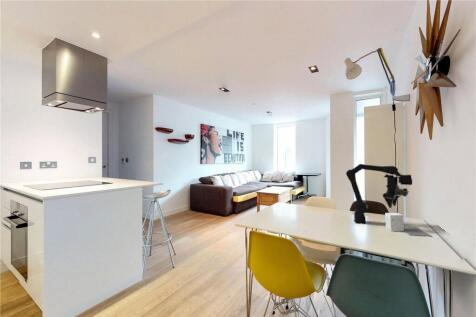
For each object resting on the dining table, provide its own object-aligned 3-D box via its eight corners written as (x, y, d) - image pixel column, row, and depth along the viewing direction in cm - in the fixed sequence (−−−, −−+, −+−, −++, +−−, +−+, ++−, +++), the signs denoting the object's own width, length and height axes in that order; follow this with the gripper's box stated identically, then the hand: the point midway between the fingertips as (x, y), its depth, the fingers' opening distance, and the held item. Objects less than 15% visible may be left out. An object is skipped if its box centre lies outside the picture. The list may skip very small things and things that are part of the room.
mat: (410, 235, 123) (410, 234, 123) (396, 226, 141) (396, 225, 141) (432, 236, 120) (432, 236, 120) (415, 227, 138) (415, 226, 138)
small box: (398, 228, 136) (397, 212, 136) (404, 231, 130) (403, 214, 130) (385, 228, 137) (384, 212, 137) (390, 231, 131) (390, 214, 131)
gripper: (403, 186, 128) (403, 211, 128) (410, 184, 140) (410, 206, 140) (382, 184, 137) (382, 208, 137) (390, 182, 149) (391, 204, 149)
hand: (392, 206), depth 141 cm, fingers open, 9 cm apart
